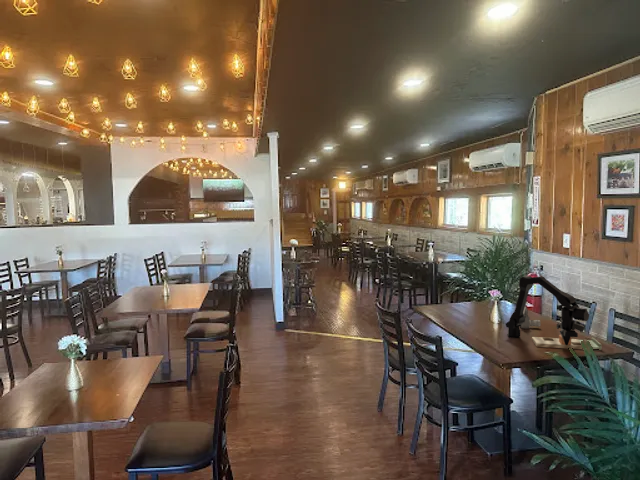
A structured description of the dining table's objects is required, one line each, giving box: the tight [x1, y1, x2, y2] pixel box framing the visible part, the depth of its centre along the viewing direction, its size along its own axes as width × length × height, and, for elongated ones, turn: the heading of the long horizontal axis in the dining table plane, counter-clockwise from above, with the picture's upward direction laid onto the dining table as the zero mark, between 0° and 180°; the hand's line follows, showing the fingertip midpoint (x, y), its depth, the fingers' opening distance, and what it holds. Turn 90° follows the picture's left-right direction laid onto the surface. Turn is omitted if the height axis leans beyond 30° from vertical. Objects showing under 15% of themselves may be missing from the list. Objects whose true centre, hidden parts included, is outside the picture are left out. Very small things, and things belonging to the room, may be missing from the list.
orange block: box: [558, 334, 572, 345], centre depth 246 cm, size 5×5×4 cm
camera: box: [520, 305, 542, 329], centre depth 286 cm, size 9×12×15 cm
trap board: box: [531, 336, 603, 351], centre depth 249 cm, size 33×13×4 cm, turn 74°
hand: (566, 344), depth 241 cm, fingers closed
